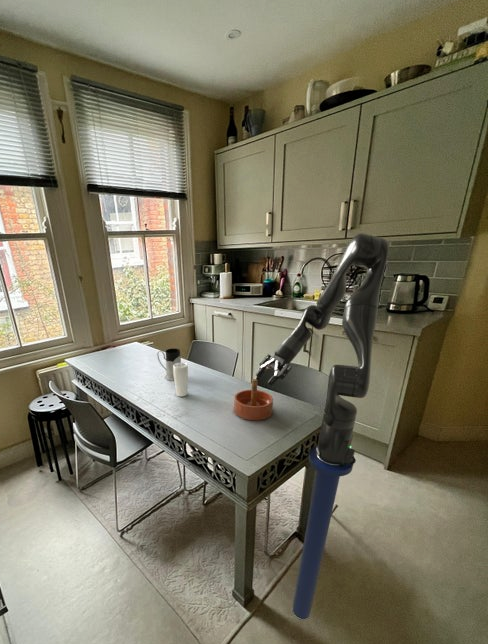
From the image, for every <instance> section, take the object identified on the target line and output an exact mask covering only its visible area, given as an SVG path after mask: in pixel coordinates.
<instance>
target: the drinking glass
mask: <svg viewBox="0 0 488 644" xmlns="http://www.w3.org/2000/svg"><path fill="white" fill-rule="evenodd" d="M173 374H174V381H173V382H174V386H175V395H176V397H185V396H187V395H188V382H189V381H188V380H189V365H188V364H187V363H186V362H181V363H176V364H174V365H173Z"/></svg>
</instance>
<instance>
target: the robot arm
mask: <svg viewBox="0 0 488 644" xmlns="http://www.w3.org/2000/svg"><path fill="white" fill-rule="evenodd" d="M389 250H390V244H389V241H388V240H387V239H386V238H384V237H380V236H376V235H373V234H368V233H357V234H356V235H354V236H353V237H352V239H351V240H350V241H349V243H348V244H347V246H346V248H345V250H344V252H343V253H342V256H341V257H340V260H339V262H338V264H337V266H336V267H335V270H334V272H333V274H332V276H331V278H330V280H329V282H328V284H327V285H326V287H325V288H324V290H323V291H322V293H321V294H320V295H319V297H318V299H317V300H316V305H314V304H310V305H308V306H307V307H306V308H305V309H304V311H303V313H302V315H301V317H300V320H299V322H298V324H297V325H296V326H295V328H294V329H293V330H292V331H291V333H290V334H289V335H288V336H287V337H286V338H285V339H284V340H283V342H281V344H280V345H279V346H278V347H277V348H276V349H275V351H274V355H270V353H267V355H266V356H265V357H264V358H263V359H262V360H261V361H260V362H259V364H258V365H259V366H260V368H259V369H258V370H257V371H256V373H255V376H256V377H257V378H259V379H260V378H261V377H262V376H263V374H264V373H265V372H266V371H267V370H273V371H274V375H272V376H271V377H270V378H269V379H268V381H267V384H268V385H270V386H273V385H274V384H275V383H276V382H277V380H284V379H285V378H286V377H287V375H288V374H289V372H291V370H292V366H290V364H291V362H292V361H293V360H294V359H295V358H296V357H297V355H298V354H299V353H300V352H301V350H302V349H303V347H304V346H305V345H306V344H307V343H308V341H309V340H310V339H311V338H312V335H313V333H312V331H311V330H310V329H309V328H308V326H307V324H308V325H310V326H311V327H313V328H314V329H315V330H318V331H322V330H324V329H325V328H327V326H328V325H329V323H330V321H331V318H332V315H333V313H334V310H335V309H336V307H337V306H338V305H339V304H340V302H341V301H342V300H343V298H344V297H345V294H346V291H347V273H348V271H349V269H350V268H351V267H352V266H356V267H360V268H365V269H366V275H365V277H364V280H363V282H362V284H361V285H360V286H359V287H358V288H357V289H356V290H355V291H354V292H353V293H352V294H351V295H350V297H348V299H347V301H346V302H345V304H344V308H343V313H342V314H343V315H342V319H341V320H342V321H341V325H342V329H343V331H344V333H345V336H346V337H347V339H348V340H349V343H350V344H351V345H352V347H353V349H354V352H355V355H356V358H357V359H356V360H357V366H355V365H345V364H334V365H332V366H331V368H330V369H329V370H330V371H329V375H328V381H327V389H326V390H327V392H326V398H325V405H324V408H323V415H322V421H321V427H320V432H319V438H318V444H317V446H318V448H316V450H317V453H316V456H317V458H318V459H319V460H320V461H321V462H323V463H325V464H327V465H330V466H340V467H344V465H345V463H346V462H347V463H349V464H350V465H352V464H353V465H355V463H356V461H357V459H356V458H355V452H356V450H355V449H353V448H352V442H353V437H354V435H353V432H354V427H355V423H356V418H357V414H358V409H357V407H356V405H355V404H354V403H352V402H350V401H348V400H346V399H344V398H343V397H348V398H356V399H363V398H365V397H366V396H367V394H368V392H369V389H370V380H371V368H372V366H371V365H372V354H373V353H372V350H373V342H374V336H375V331H376V326H377V318H378V314H379V313H378V312H379V302H380V296H381V295H380V293H381V287H382V282H383V278H384V274H385V273H384V272H385V269H386V264H387V260H388V257H389V252H390V251H389ZM352 459H353V462H351V461H352Z"/></svg>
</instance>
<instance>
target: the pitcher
mask: <svg viewBox="0 0 488 644" xmlns="http://www.w3.org/2000/svg"><path fill="white" fill-rule="evenodd" d="M159 353H162V355H163V359H164V360H165V365H164V364H162V362H161V360H160V357H159ZM156 355H157V360H158V362H159V365H160V366H161V367H162V368H163V369H164V370H165V371H166V376H165V379H166V380H168V381H171V382H175V381H174V374H173V365H174V364H176V363H182V358H181V357H182V356H181V350H180V349H179V348H174V347H173V348H168V349H166V350H165V352H164V351H162V350H159V351H158V352H157V353H156Z"/></svg>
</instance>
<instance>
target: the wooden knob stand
mask: <svg viewBox="0 0 488 644" xmlns="http://www.w3.org/2000/svg"><path fill="white" fill-rule="evenodd" d="M258 383H259V382H258V379H256V378H253V379H251V389H250V390H251V401H250V402H248V403H247V405H248V406H260V404H259V403H258V402H256V397H257V390H258Z"/></svg>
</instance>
